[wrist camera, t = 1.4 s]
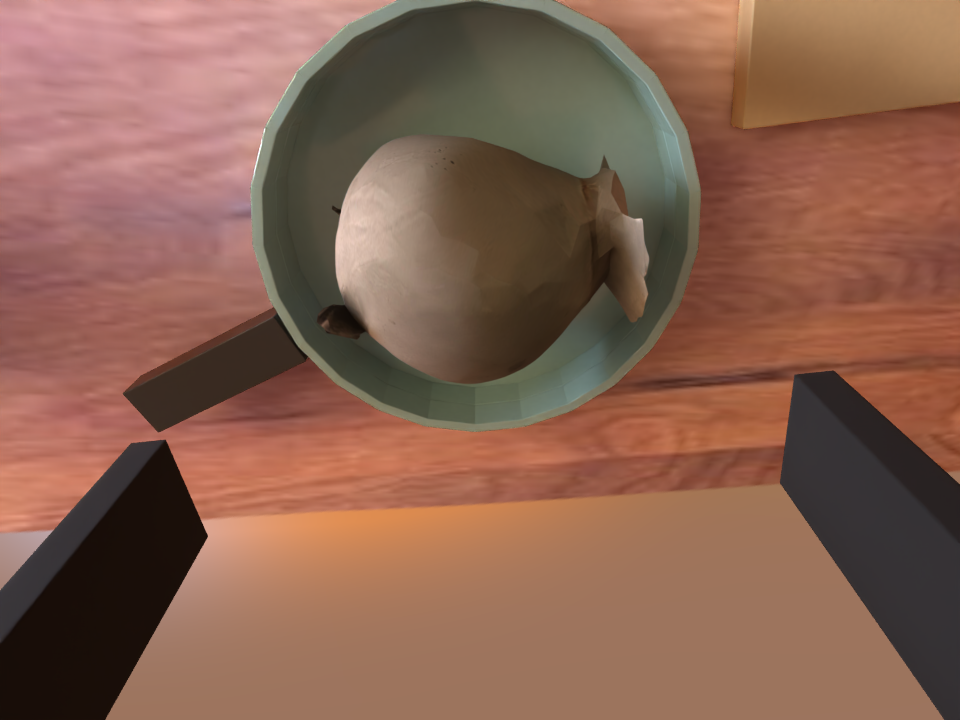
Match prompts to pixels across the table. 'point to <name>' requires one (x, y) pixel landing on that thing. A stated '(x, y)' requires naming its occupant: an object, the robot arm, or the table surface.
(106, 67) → the table surface
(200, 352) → the pan handle
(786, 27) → the cutting board
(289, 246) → the pan
